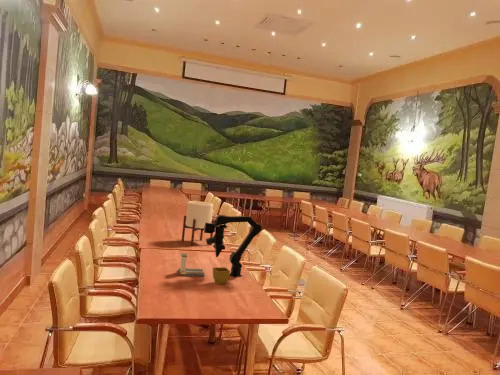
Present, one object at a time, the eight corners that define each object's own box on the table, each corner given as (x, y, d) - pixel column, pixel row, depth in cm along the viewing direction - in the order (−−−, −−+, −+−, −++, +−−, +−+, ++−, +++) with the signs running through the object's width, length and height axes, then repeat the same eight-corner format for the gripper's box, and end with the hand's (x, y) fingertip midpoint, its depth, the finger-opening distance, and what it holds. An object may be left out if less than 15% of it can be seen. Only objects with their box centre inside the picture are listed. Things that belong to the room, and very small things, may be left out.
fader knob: (184, 269, 281) (186, 253, 280) (185, 272, 274) (187, 255, 274) (179, 269, 280) (181, 253, 279) (180, 271, 273) (181, 255, 273)
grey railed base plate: (202, 271, 286) (202, 267, 286) (204, 276, 275) (204, 273, 274) (178, 270, 282) (178, 266, 282) (179, 275, 271) (179, 272, 271)
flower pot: (211, 281, 267) (212, 267, 266) (224, 280, 270) (225, 267, 270) (215, 285, 259) (217, 271, 258) (228, 285, 262) (230, 271, 262)
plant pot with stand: (213, 245, 373) (217, 205, 371) (190, 246, 360) (194, 204, 358) (201, 239, 392) (205, 201, 389) (179, 240, 379) (183, 200, 376)
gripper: (205, 230, 288) (203, 253, 289) (209, 236, 270) (206, 260, 271) (221, 231, 290) (219, 253, 291) (226, 237, 272) (223, 260, 273)
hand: (216, 257), depth 282 cm, fingers closed
